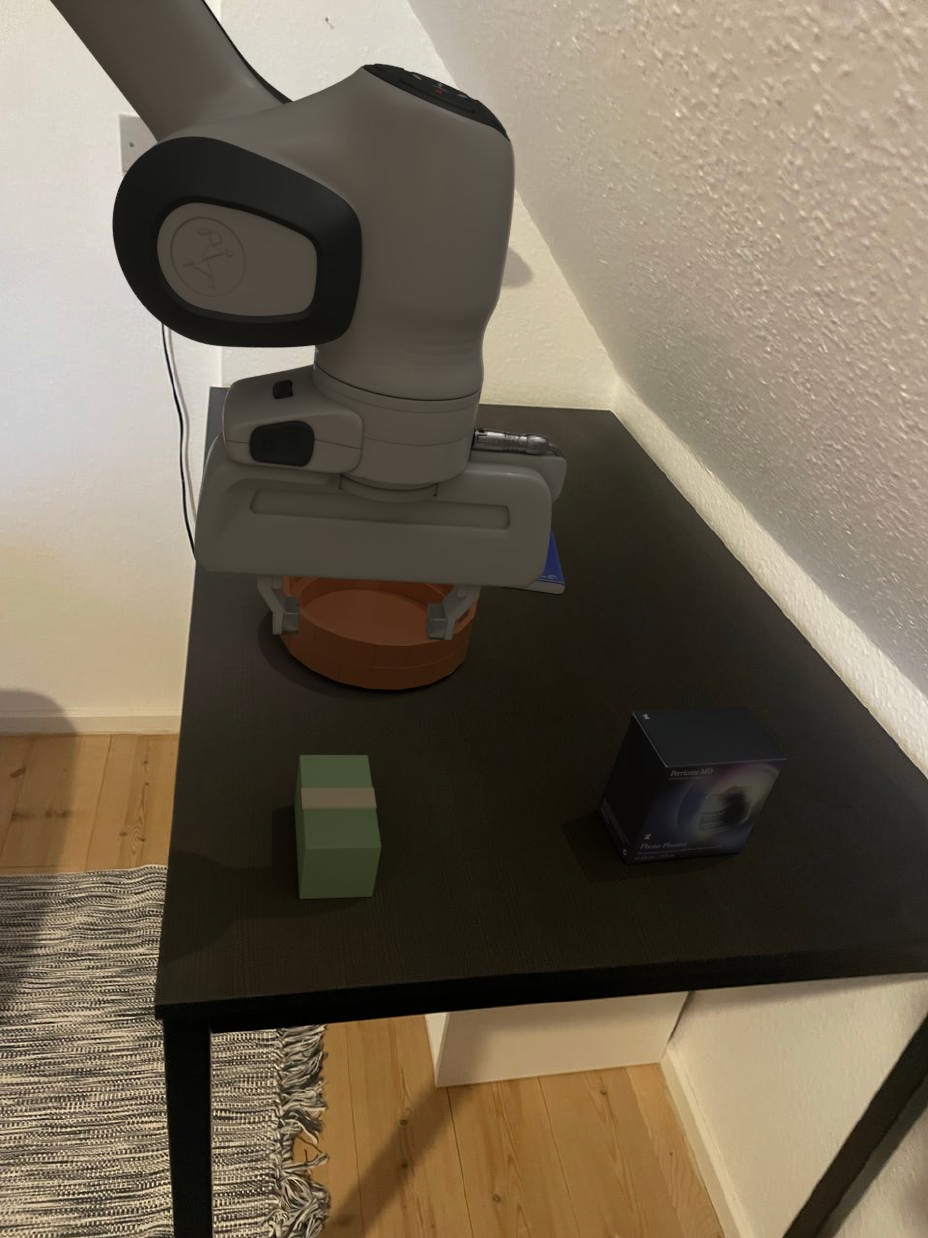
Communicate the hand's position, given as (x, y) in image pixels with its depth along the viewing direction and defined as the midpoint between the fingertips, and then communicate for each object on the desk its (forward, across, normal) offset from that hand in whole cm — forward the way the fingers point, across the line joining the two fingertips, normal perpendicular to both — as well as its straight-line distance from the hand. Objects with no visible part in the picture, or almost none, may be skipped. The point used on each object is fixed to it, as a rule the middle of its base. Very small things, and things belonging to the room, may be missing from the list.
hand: (362, 632), depth 58 cm
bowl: (+19, -6, -27) cm, 34 cm away
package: (+19, 0, 0) cm, 19 cm away
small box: (+19, -27, -1) cm, 33 cm away
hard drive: (+19, -25, -43) cm, 53 cm away
